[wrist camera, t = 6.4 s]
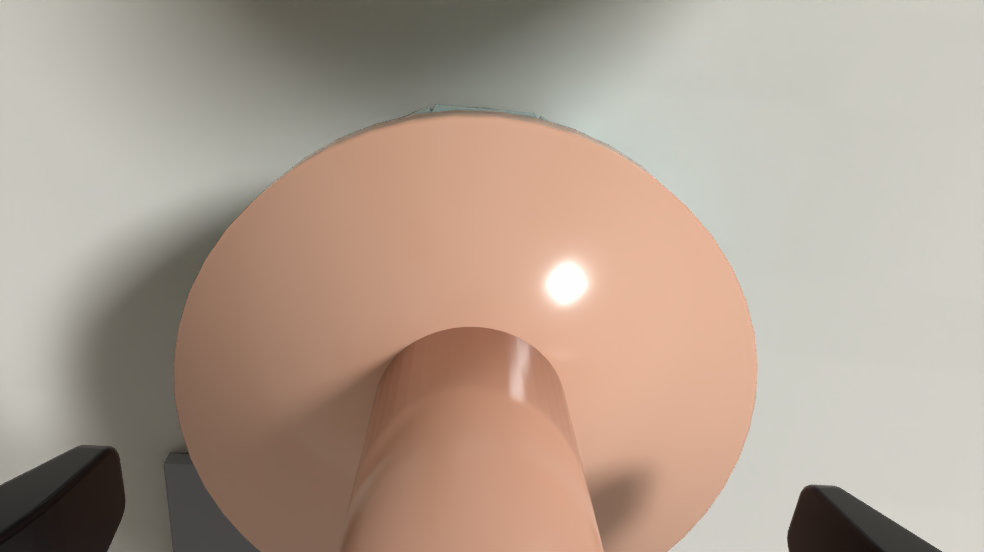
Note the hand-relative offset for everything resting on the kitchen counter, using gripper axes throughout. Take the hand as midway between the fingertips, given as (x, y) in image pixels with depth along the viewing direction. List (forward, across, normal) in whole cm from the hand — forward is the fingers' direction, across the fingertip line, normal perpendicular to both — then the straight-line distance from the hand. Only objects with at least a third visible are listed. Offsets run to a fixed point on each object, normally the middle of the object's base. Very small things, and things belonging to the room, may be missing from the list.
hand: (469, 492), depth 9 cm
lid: (+3, 0, 0) cm, 3 cm away
